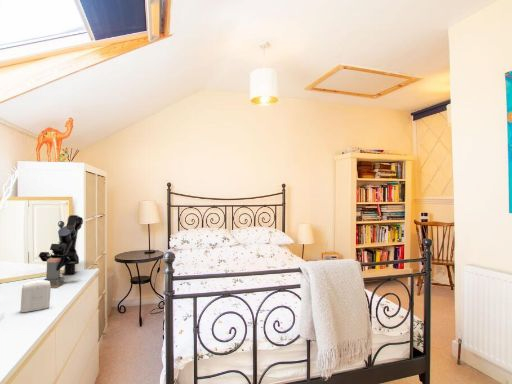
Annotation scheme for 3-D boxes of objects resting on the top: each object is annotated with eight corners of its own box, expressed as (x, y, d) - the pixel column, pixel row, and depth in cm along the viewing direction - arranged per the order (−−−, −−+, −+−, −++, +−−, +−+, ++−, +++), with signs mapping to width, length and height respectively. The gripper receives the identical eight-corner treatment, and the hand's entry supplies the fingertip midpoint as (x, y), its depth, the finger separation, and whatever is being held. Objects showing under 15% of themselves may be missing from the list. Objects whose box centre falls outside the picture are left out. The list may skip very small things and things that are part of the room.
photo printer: (48, 305, 137) (49, 277, 137) (50, 308, 134) (51, 279, 134) (19, 310, 130) (21, 281, 130) (21, 313, 126) (22, 283, 127)
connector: (51, 280, 169) (52, 257, 169) (59, 280, 169) (60, 257, 169) (46, 282, 164) (47, 259, 164) (55, 282, 165) (56, 259, 165)
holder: (48, 283, 171) (49, 276, 171) (65, 283, 171) (66, 276, 171) (38, 288, 162) (39, 280, 162) (56, 288, 162) (57, 280, 163)
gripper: (41, 237, 170) (27, 261, 159) (76, 238, 172) (65, 262, 161) (49, 249, 178) (36, 272, 167) (82, 249, 180) (72, 273, 168)
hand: (52, 270), depth 165 cm, fingers closed on connector, 4 cm apart
